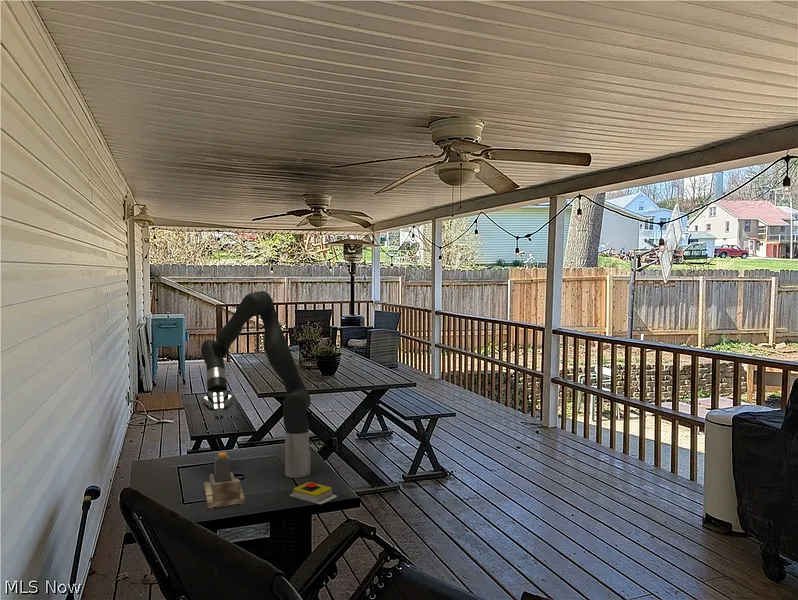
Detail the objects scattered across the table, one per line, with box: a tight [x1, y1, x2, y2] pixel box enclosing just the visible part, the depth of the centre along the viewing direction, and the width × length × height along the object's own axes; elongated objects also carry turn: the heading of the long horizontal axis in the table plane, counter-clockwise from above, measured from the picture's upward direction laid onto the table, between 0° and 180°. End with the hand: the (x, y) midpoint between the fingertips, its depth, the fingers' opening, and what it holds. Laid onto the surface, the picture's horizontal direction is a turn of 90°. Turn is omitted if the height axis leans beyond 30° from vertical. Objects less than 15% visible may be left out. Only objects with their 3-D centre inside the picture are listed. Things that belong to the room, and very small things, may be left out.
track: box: [203, 471, 246, 509], centre depth 202 cm, size 12×21×8 cm, turn 22°
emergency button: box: [289, 481, 338, 505], centre depth 202 cm, size 9×4×15 cm
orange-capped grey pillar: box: [214, 451, 231, 483], centre depth 207 cm, size 5×4×12 cm
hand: (219, 418), depth 217 cm, fingers closed
